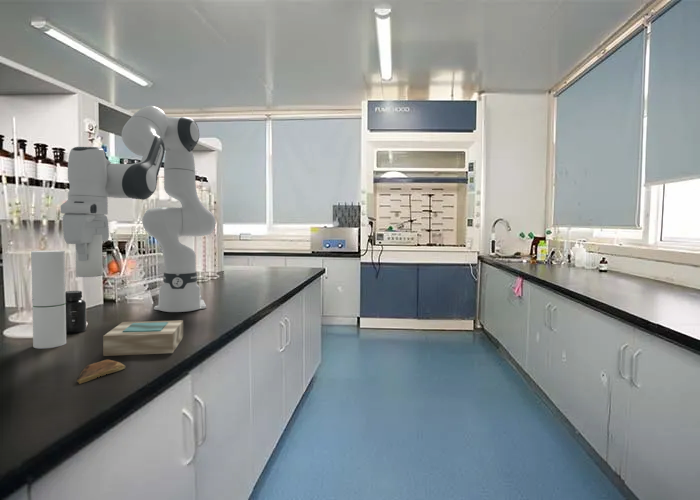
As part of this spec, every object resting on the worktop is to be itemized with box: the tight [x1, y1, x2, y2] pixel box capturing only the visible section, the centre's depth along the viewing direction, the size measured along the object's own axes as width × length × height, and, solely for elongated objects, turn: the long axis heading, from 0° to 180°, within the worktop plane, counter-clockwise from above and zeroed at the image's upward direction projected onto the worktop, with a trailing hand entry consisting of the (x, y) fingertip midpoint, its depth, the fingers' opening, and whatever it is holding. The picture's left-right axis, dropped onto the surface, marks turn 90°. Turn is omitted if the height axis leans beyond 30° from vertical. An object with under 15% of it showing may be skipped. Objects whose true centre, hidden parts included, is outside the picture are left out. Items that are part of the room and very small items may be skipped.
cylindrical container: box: [30, 249, 67, 350], centre depth 109 cm, size 7×7×25 cm
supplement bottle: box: [65, 290, 87, 335], centre depth 123 cm, size 7×7×12 cm
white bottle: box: [74, 229, 103, 278], centre depth 110 cm, size 6×6×13 cm
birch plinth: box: [102, 319, 184, 357], centre depth 111 cm, size 15×16×5 cm
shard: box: [76, 359, 126, 385], centre depth 90 cm, size 11×8×2 cm
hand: (89, 259), depth 110 cm, fingers closed on white bottle, 6 cm apart
